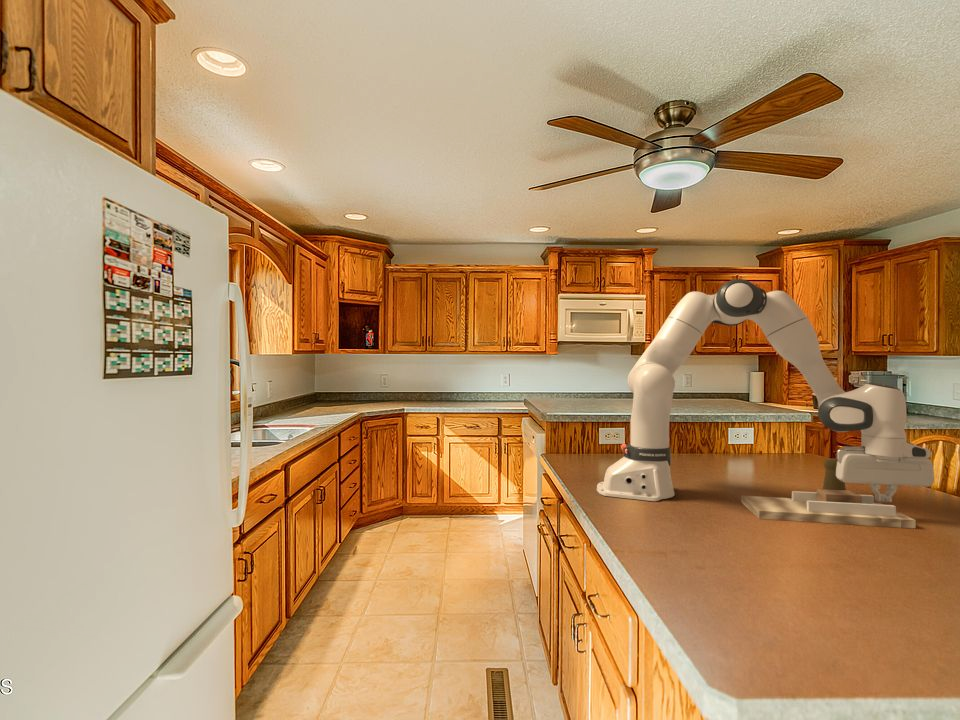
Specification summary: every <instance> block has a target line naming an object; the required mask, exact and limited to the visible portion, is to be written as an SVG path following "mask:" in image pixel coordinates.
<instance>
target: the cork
mask: <svg viewBox="0 0 960 720" xmlns="http://www.w3.org/2000/svg"><path fill="white" fill-rule="evenodd" d="M837 461H838V460H837V458H825V459H824V461H823V467H824V469H825V472H824V478H823V479H824V480H823V486H822V489H827V490H846V489H847V488H846V483H844V482H842V481H840V480H839V479H838V478H837V477H836V467H837ZM846 491H847V490H846Z"/></svg>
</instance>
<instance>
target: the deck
mask: <svg viewBox="0 0 960 720" xmlns="http://www.w3.org/2000/svg"><path fill="white" fill-rule="evenodd" d="M740 497H741V499H740V500H741V501H740V502H741V504H742V505H743V506H744V507H746V508H747V509H748V511H750V512H751V513H752V514H753V515H754V516H755V517H757V518H758V520H759V519H760V520H772V521H773V520H774V521H775V520H776V521H791V522H803V521H804V522H807V523H819V522H820V523H821V524H837V525H838V524H839V525H853V526H868V527H869V526H870V527H884V528H900V529H913V528H914V529H915V528H916V522H917V521H916V519H914V518H911V517H910V516H907V515H906V514H903V513H901V512H899V511H897V510H896V517H892V516H875V515H858V514H842V513H825V512H809V511H807V502H797V501H792V497H791V498H790V497H777V496H776V497H774V496H758V495H757V496H754V495H741V496H740ZM874 504H879V505H884V504H883V503H882V502H874ZM914 529H913V530H914ZM915 530H916V529H915Z"/></svg>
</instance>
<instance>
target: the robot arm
mask: <svg viewBox="0 0 960 720" xmlns="http://www.w3.org/2000/svg"><path fill="white" fill-rule="evenodd" d="M748 320H750V321H751V322H754V323H755V324H757V326H758V328H760V329H761V331H762V333H763V334H764V336H765V338H766V339H767V341H768V343H769V344H770V345H771V347H772V348H773V349H774V350H775V352H777V354H779V356H781V358H782V359H783V360H785V361H787V362H789V364H791V365H793V366H794V367H795V368H796V369H797V370H798V371H799V372H800V374H801V375H802V376H803V378H804V380H805V381H806V383H807V385H808V386H809V388H810V389H811V391H812V392H813V394H814V395H815V398H816V400H817V410H818V411H817V416H818V419H819V421H820V423H821V424H822V425H823V427H824V426H825V427H826V428H827V429H829V430H831V431H834V432H838V433H846V432H856V431H860V432H861V437H860V439H861V440H860V441H861V445H860V446H859V445H858V446H857V445H856V446H850V445H843V447H840V448H839V449H837V451H836V459H837V460H838V461H837V467H836V477H837V478H838V479H839V480H840V481H842V482H844V483H845V484H860V485H861V484H863V485H864V484H865V485H869V488H870V489H871V491H872V492H873V494H874V502H876V503H890V504H891V503H892V502H893V499H892V498H893V496H894V495H895V493H896V492H897V491H898V486H906V487H927V488H928V487H932V486H933V484H934V483H935V471H934V463H933V462H932V460H931V459H929V458H931V455H932V451H931V450H930V449H929V448H926V447H923V446H919V445H916V444H914V443H911V442H908V441H907V434H906V431H905V425H906V423H907V419H908V418H907V402H906V396H905V393H904V391H902V390H901V389H900V388H898V387H897V386H894V385H890V384H884V383H875V382H867V383H865V384H863V385H861V386H859V387H857V388H854V389H853V390H849V391H846V390H844V389H843V387H841V386H840V384H839V383H838V381H837V380H836V378H835V377H834V375H833V374H832V372H831V370H830V369H829V368H828V366H827V365H826V362H825V361H824V359H823V358H824V357H823V356H822V352H821V347H820V342H819V339H818V336H817V333H816V331H815V328H814V327H813V324H812V323H811V321H810V320H809V318H808V316H807V315H806V313H804V311H803V309H802V308H801V307H800V305H799V304H798V303H797V302H796V301H795V300H794V299H793V298H792V297H791V296H790V295H789V294H788V293H787V292H785V291H783V290H771V291H768V292H767V291H766V290H764V289H763V288H761V287H759V286H757V285H756V284H754V283H752V282H750V281H749V280H746V279H743V278H736V279H731V280H729V281H727V282H724V284H722V285H721V286H720V287H719V289H718V291H717V292H716V293H714V294H706V293H704V292H702V291H690V292H688V293H686V294H685V295H684V296H683V297H682V298H680V300H679V301H678V302H677V304H676V305H675V307H673V309H672V310H671V312H670V313H669V315H668V316H667V318H666V319H665V321H664V322H663V324H662V326H661V328H660V329H659V330H658V332H657V334H656V335H655V337H654V338H653V340H652V341H651V343H650V344H649V345H648V347H647V348H646V349H645V351H644V352H643V353H642V355H641V356H640V357H639V358H638V360H637V361H636V362H635V364H634V365H633V367H632V368H631V370H630V371H629V373H628V376H627V385H628V388H629V390H630V391H631V393H632V394H633V396H632V397H633V400H632V409H631V417H630V420H629V421H630V423H629V424H630V426H629V427H630V428H629V429H630V433H629V434H630V438H629V440H630V442H629V444H628V445H627V444H626V443H622V444H621V446H620V448H621V451H622V453H623V457H621V458H620V459H619V460H617V461H616V462H614V463H613V464H611V465H610V466H608V467H607V469H606V470H605V474H604V478H603V481H600V482H598V483H597V485H596V491H597V492H598V494H599V495H602V496H604V497H605V496H606V497H612V498H621V499H622V498H623V499H628V500H629V499H631V500H639V501H650V502H659V501H660V500H665V499H669V498H673V497H674V496H675V495H676V493H675V490H674V486H673V482H672V481H673V480H672V476H671V463H672V451H671V447H670V416H671V412H672V404H673V397H674V390H675V387H676V380H675V378H674V376H673V375H674V374H675V372H676V371H677V370H678V369H679V368H680V367H681V366H682V364H683V363H685V362H686V360H688V358H689V357H690V355H691V354H692V352H693V350H695V347H696V346H697V344H698V343H699V342H700V340H701V339H702V337H703V335H704V333H705V332H706V330H707V328H708V327H709V326H710V325H711V324H717V325H718V324H719V325H723V326H728V327H733V326H738V325H741V324H743V323H744V322H746V321H748ZM882 485H885V487H886V488H887V489H886V491H885V493H881V491H880V489H881V486H882Z"/></svg>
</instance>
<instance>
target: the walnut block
mask: <svg viewBox="0 0 960 720" xmlns="http://www.w3.org/2000/svg"><path fill="white" fill-rule="evenodd" d="M816 492H817V501H825V502H843V503H861V504H862V496H861V495H862V494H859V493H857V492H855V491H852V490H827V489H823V488H821V489H820V488H816Z"/></svg>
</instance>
